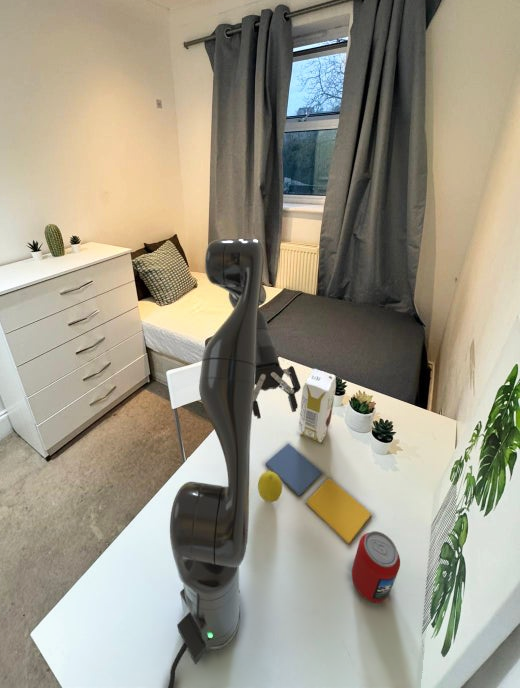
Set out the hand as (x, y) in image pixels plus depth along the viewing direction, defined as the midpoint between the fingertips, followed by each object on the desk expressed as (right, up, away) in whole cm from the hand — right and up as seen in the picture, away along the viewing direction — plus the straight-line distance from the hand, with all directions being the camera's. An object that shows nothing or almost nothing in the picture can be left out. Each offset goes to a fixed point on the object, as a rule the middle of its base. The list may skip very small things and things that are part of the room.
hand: (276, 414), depth 78 cm
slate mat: (+5, -17, +7) cm, 19 cm away
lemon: (-2, -20, +1) cm, 20 cm away
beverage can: (+15, -27, -15) cm, 34 cm away
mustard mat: (+14, -21, -2) cm, 25 cm away
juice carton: (+14, -11, +17) cm, 25 cm away
